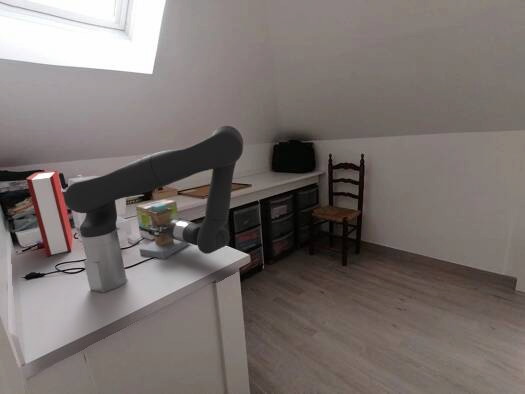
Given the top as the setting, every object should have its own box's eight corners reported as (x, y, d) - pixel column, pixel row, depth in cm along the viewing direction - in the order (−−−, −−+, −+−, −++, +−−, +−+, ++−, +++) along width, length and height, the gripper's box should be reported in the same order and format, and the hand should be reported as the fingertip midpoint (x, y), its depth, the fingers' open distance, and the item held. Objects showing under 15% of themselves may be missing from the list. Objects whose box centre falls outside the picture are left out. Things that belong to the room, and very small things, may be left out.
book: (71, 251, 112) (52, 175, 105) (47, 257, 108) (26, 178, 101) (72, 234, 135) (57, 170, 127) (52, 238, 131) (35, 172, 123)
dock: (164, 258, 100) (163, 252, 99) (140, 254, 105) (139, 248, 104) (188, 244, 112) (187, 238, 112) (166, 241, 117) (165, 235, 117)
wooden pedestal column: (176, 242, 108) (171, 208, 105) (161, 248, 104) (156, 213, 100) (167, 239, 112) (162, 206, 109) (153, 244, 108) (147, 210, 104)
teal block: (167, 212, 105) (166, 204, 105) (158, 214, 102) (156, 207, 102) (161, 210, 108) (160, 203, 107) (152, 213, 105) (151, 205, 104)
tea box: (152, 240, 119) (146, 208, 115) (140, 236, 125) (134, 205, 121) (180, 230, 130) (176, 200, 127) (168, 226, 136) (164, 198, 133)
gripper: (197, 215, 102) (173, 210, 112) (163, 226, 91) (139, 219, 101) (200, 234, 104) (175, 227, 114) (167, 247, 93) (143, 238, 103)
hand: (158, 223), depth 107 cm, fingers open, 8 cm apart
